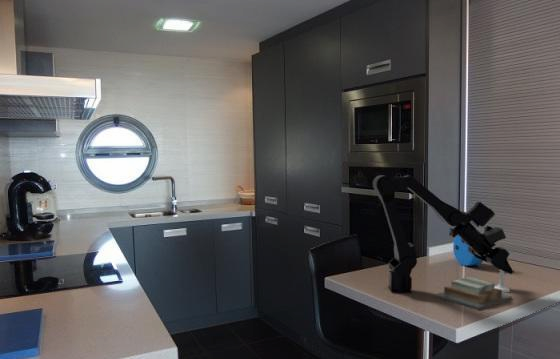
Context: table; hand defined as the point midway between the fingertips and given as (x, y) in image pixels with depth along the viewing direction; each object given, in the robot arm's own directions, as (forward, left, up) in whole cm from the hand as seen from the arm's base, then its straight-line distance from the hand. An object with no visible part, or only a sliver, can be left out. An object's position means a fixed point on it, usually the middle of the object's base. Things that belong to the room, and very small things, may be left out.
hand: (505, 269), depth 145 cm
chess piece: (-1, 0, -7) cm, 7 cm away
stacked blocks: (-14, -8, -7) cm, 18 cm away
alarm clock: (+2, +34, -7) cm, 35 cm away
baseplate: (-14, -8, -7) cm, 18 cm away
